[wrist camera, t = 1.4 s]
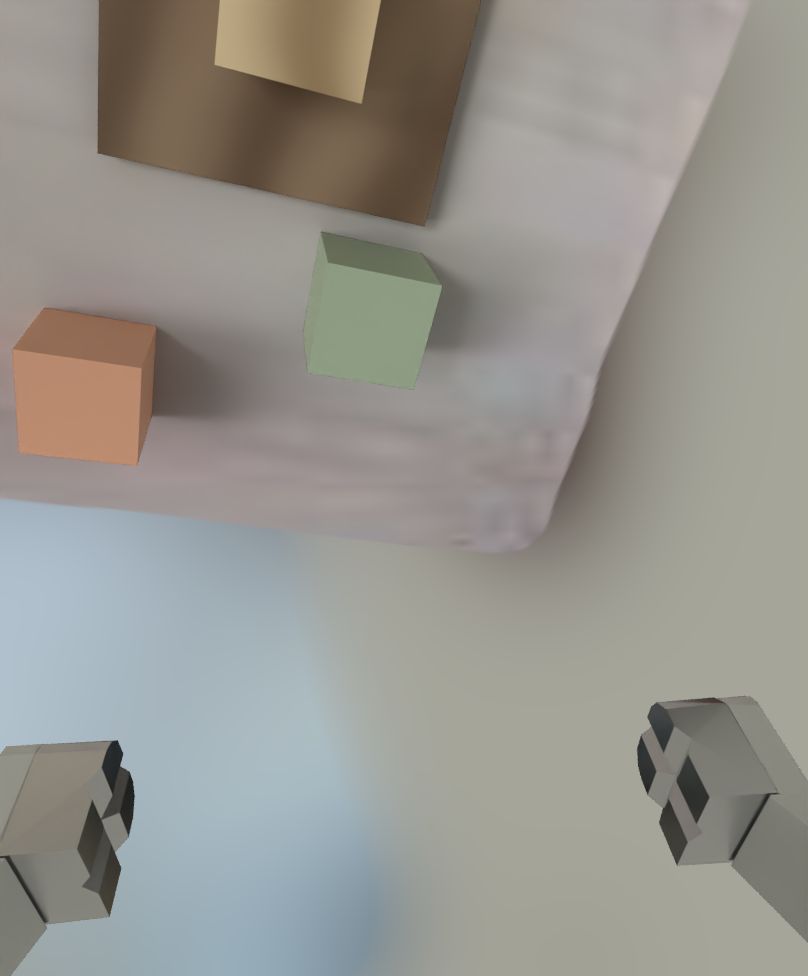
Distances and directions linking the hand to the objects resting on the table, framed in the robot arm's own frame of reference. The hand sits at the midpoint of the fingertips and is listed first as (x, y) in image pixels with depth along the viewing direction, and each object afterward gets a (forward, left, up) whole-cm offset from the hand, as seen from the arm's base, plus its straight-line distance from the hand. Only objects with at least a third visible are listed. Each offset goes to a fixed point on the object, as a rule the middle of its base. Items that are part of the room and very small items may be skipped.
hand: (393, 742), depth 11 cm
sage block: (+3, -2, -27) cm, 27 cm away
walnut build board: (-2, +9, -27) cm, 29 cm away
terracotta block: (-9, -8, -27) cm, 30 cm away
